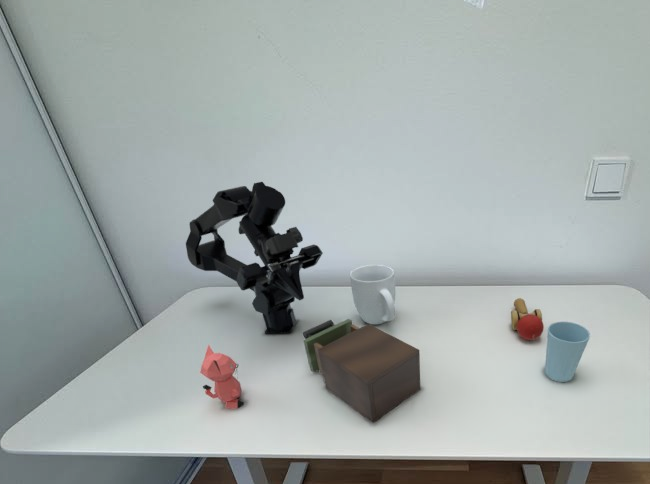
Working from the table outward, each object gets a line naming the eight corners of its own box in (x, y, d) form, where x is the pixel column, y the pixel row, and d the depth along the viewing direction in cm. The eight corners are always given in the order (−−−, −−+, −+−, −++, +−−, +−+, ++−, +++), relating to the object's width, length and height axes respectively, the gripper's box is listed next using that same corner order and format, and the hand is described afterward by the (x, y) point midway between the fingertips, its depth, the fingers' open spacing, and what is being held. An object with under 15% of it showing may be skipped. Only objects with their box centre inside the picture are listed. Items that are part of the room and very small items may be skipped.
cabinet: (325, 388, 75) (317, 349, 70) (372, 360, 83) (368, 323, 77) (373, 423, 67) (367, 382, 61) (420, 389, 74) (419, 349, 69)
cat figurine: (253, 405, 71) (235, 355, 65) (215, 420, 68) (191, 368, 62) (245, 386, 76) (227, 337, 70) (209, 398, 73) (187, 348, 67)
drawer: (299, 362, 81) (291, 332, 77) (341, 341, 88) (336, 312, 84) (349, 399, 71) (344, 367, 66) (393, 372, 78) (390, 340, 73)
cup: (575, 390, 73) (587, 346, 67) (536, 379, 76) (544, 336, 70) (580, 368, 78) (592, 326, 72) (543, 359, 81) (551, 318, 75)
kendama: (500, 312, 102) (511, 340, 85) (507, 290, 99) (519, 315, 83) (528, 317, 102) (544, 346, 86) (535, 296, 99) (553, 321, 83)
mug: (413, 327, 94) (411, 279, 87) (374, 341, 89) (369, 291, 82) (384, 304, 105) (380, 260, 97) (348, 316, 100) (342, 270, 92)
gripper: (225, 227, 69) (270, 298, 69) (310, 207, 80) (348, 268, 80) (220, 258, 78) (259, 320, 78) (297, 236, 89) (332, 290, 89)
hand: (302, 299), depth 81 cm, fingers closed
